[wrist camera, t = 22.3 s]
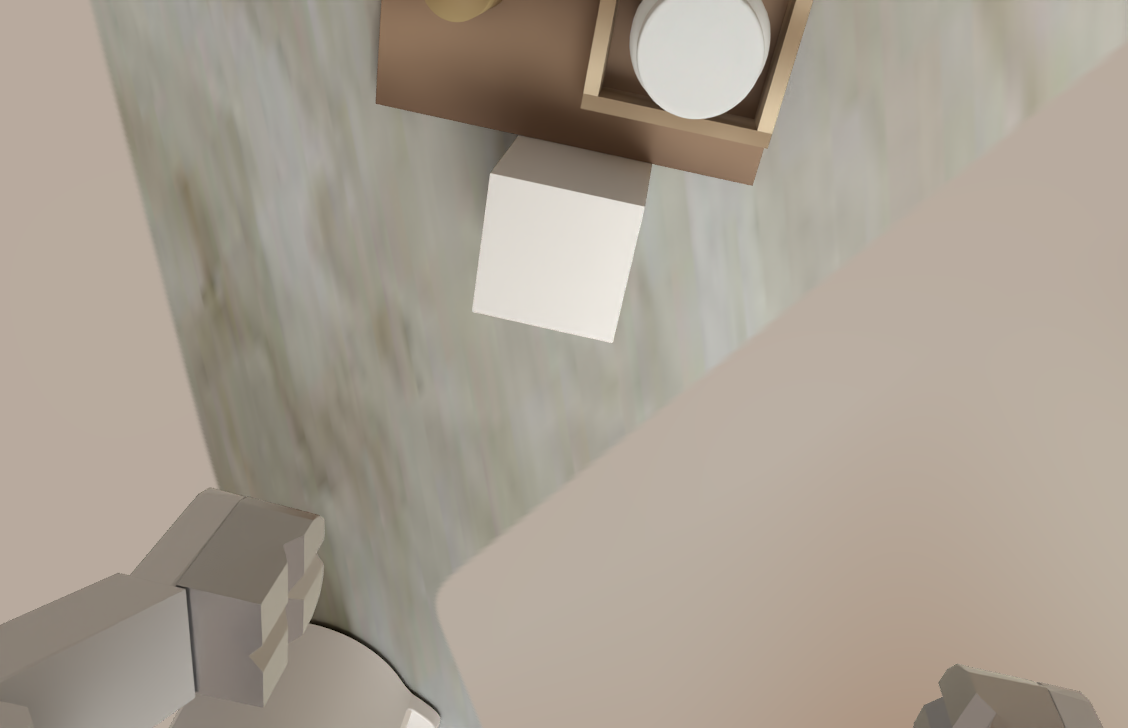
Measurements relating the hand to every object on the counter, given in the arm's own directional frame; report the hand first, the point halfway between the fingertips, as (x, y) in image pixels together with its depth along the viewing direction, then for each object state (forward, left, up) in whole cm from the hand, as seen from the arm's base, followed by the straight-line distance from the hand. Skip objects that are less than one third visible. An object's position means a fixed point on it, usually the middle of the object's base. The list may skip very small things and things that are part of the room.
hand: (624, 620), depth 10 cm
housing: (-5, +3, -29) cm, 30 cm away
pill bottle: (+4, 0, -28) cm, 28 cm away
